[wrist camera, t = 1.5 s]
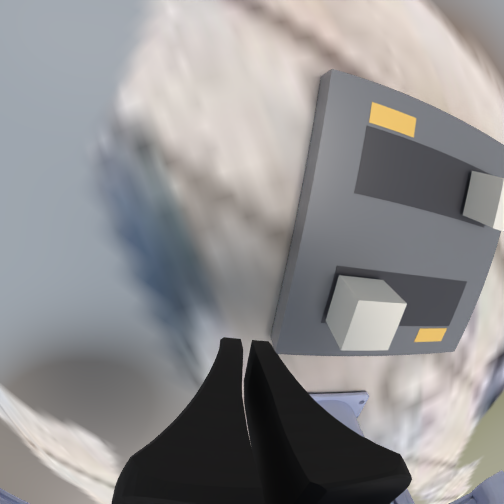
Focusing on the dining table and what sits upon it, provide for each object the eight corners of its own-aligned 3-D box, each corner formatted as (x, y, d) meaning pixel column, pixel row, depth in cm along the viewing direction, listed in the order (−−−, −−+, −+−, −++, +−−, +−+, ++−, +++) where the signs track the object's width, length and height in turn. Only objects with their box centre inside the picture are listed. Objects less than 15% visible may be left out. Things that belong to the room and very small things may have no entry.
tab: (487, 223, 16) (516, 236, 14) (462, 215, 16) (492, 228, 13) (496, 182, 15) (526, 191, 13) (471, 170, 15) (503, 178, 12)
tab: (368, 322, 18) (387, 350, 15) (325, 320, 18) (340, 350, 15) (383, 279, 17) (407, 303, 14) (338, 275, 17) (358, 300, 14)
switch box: (442, 339, 22) (454, 351, 21) (270, 335, 21) (274, 354, 19) (499, 150, 17) (516, 153, 15) (321, 76, 15) (332, 68, 13)
